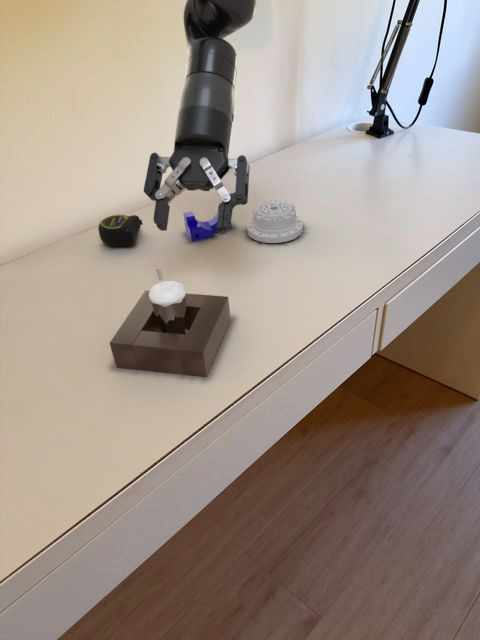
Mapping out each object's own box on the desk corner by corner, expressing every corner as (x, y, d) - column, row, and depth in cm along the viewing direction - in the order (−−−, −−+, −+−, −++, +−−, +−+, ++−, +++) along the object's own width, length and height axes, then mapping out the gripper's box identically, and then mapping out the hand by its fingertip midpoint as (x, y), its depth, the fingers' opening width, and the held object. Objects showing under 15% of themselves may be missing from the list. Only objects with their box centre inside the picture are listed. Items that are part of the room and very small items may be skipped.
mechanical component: (251, 247, 90) (308, 241, 91) (249, 224, 87) (308, 217, 88) (243, 222, 98) (296, 216, 98) (242, 200, 95) (296, 194, 96)
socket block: (116, 367, 67) (109, 342, 64) (150, 313, 76) (145, 290, 73) (206, 377, 65) (202, 352, 62) (230, 320, 74) (228, 296, 71)
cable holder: (191, 241, 93) (188, 220, 90) (186, 233, 95) (183, 212, 93) (234, 232, 95) (232, 211, 92) (228, 224, 97) (226, 204, 95)
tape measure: (135, 250, 91) (130, 230, 89) (96, 250, 92) (91, 230, 89) (144, 231, 96) (140, 212, 94) (108, 232, 97) (103, 213, 95)
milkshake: (186, 326, 73) (175, 263, 67) (198, 348, 69) (188, 283, 63) (154, 335, 72) (140, 272, 65) (165, 358, 68) (151, 293, 62)
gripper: (147, 102, 71) (130, 218, 70) (249, 103, 68) (235, 224, 67) (166, 131, 78) (152, 236, 77) (260, 132, 76) (247, 242, 74)
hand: (190, 230), depth 72 cm, fingers open, 8 cm apart
